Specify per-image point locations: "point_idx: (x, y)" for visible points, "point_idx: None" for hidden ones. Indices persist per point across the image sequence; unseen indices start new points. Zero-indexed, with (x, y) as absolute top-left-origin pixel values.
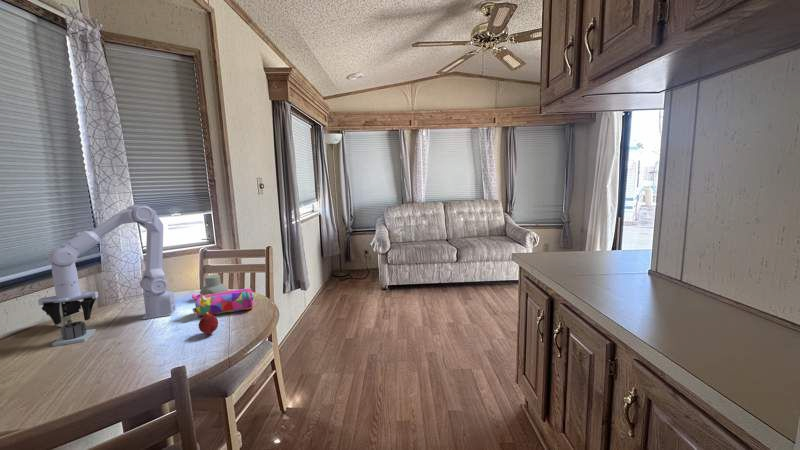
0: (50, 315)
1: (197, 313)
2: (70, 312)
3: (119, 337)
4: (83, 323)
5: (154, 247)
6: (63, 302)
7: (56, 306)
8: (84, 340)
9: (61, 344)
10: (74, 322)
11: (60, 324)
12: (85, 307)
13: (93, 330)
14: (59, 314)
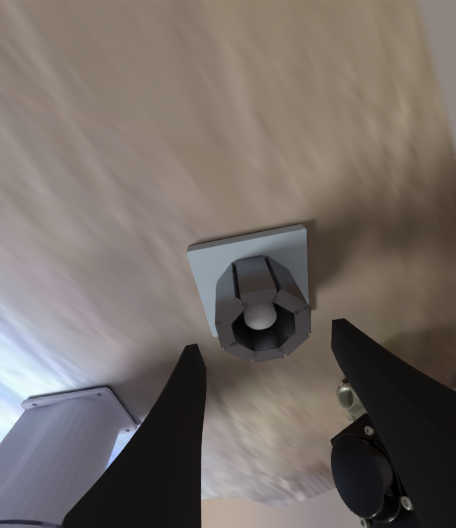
0: (412, 373)
1: None
2: (351, 434)
3: (50, 255)
4: (218, 336)
5: None
6: (412, 510)
7: (428, 489)
8: (188, 247)
9: (271, 231)
10: (276, 353)
11: None
12: (139, 451)
13: (209, 324)
14: (362, 398)
